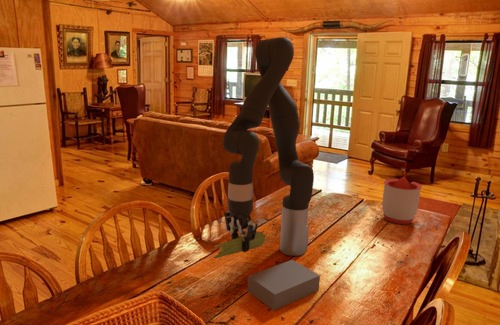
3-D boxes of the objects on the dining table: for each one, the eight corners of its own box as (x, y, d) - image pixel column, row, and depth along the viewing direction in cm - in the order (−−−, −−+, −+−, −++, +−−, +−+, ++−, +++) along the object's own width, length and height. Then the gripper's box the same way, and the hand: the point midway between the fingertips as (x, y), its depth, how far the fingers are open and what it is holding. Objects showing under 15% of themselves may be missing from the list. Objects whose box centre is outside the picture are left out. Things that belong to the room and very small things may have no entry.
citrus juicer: (420, 217, 186) (426, 175, 181) (412, 229, 171) (419, 184, 166) (385, 210, 194) (390, 169, 189) (375, 221, 179) (380, 177, 174)
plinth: (291, 273, 132) (292, 259, 130) (318, 290, 123) (320, 275, 121) (247, 291, 121) (248, 275, 120) (273, 310, 112) (274, 294, 111)
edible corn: (270, 234, 127) (262, 225, 131) (214, 252, 117) (207, 242, 120) (268, 246, 130) (260, 238, 133) (212, 265, 119) (205, 255, 123)
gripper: (265, 200, 118) (264, 253, 122) (236, 187, 129) (235, 237, 133) (245, 205, 114) (244, 260, 118) (216, 192, 124) (217, 243, 129)
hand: (240, 247), depth 126 cm, fingers closed on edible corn, 4 cm apart
